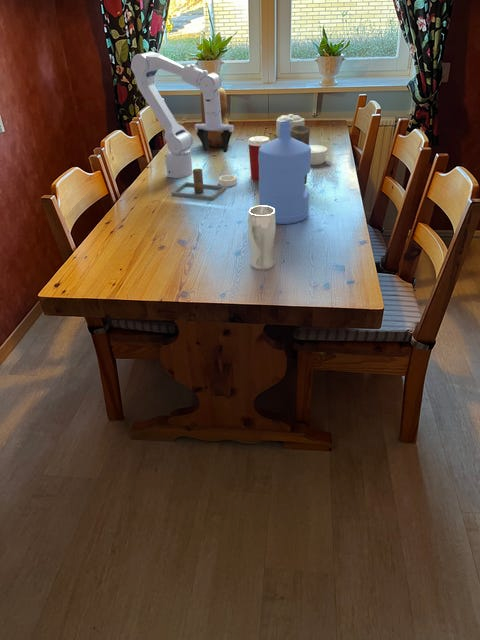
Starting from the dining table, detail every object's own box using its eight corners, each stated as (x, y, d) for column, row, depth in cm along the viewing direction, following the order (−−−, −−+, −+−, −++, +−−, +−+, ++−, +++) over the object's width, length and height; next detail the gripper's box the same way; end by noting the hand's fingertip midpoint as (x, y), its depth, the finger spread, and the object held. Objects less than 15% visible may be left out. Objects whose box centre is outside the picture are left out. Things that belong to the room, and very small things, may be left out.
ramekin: (295, 164, 199) (296, 151, 196) (303, 156, 207) (303, 143, 204) (322, 167, 195) (323, 153, 192) (329, 159, 204) (330, 145, 201)
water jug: (275, 229, 148) (275, 132, 132) (250, 212, 160) (248, 121, 144) (318, 218, 154) (323, 124, 138) (291, 202, 166) (293, 113, 150)
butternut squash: (236, 144, 226) (234, 84, 212) (220, 151, 217) (216, 89, 203) (211, 140, 232) (208, 82, 218) (194, 148, 223) (189, 87, 209)
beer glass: (247, 259, 133) (246, 206, 125) (273, 257, 133) (273, 204, 125) (250, 271, 127) (249, 216, 119) (277, 269, 128) (277, 215, 119)
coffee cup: (268, 184, 181) (268, 141, 172) (246, 183, 183) (245, 141, 174) (272, 176, 188) (272, 135, 179) (250, 175, 189) (249, 135, 181)
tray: (171, 197, 173) (171, 192, 172) (186, 186, 181) (185, 182, 180) (213, 202, 168) (213, 197, 167) (226, 191, 176) (226, 186, 175)
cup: (216, 187, 180) (215, 179, 178) (223, 181, 185) (223, 174, 183) (232, 189, 178) (232, 181, 176) (239, 183, 183) (239, 175, 181)
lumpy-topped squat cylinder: (278, 132, 242) (278, 113, 237) (304, 132, 240) (305, 113, 235) (275, 137, 233) (275, 118, 228) (303, 138, 231) (304, 118, 226)
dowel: (193, 193, 174) (191, 170, 169) (197, 190, 176) (195, 168, 172) (201, 194, 173) (199, 172, 168) (205, 191, 175) (203, 169, 170)
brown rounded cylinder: (309, 183, 180) (311, 125, 169) (304, 190, 175) (307, 131, 163) (288, 181, 183) (290, 124, 171) (283, 188, 177) (284, 130, 166)
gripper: (189, 113, 173) (193, 153, 181) (227, 114, 168) (229, 155, 176) (198, 109, 178) (201, 148, 186) (235, 110, 173) (237, 150, 181)
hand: (216, 151), depth 181 cm, fingers open, 7 cm apart
